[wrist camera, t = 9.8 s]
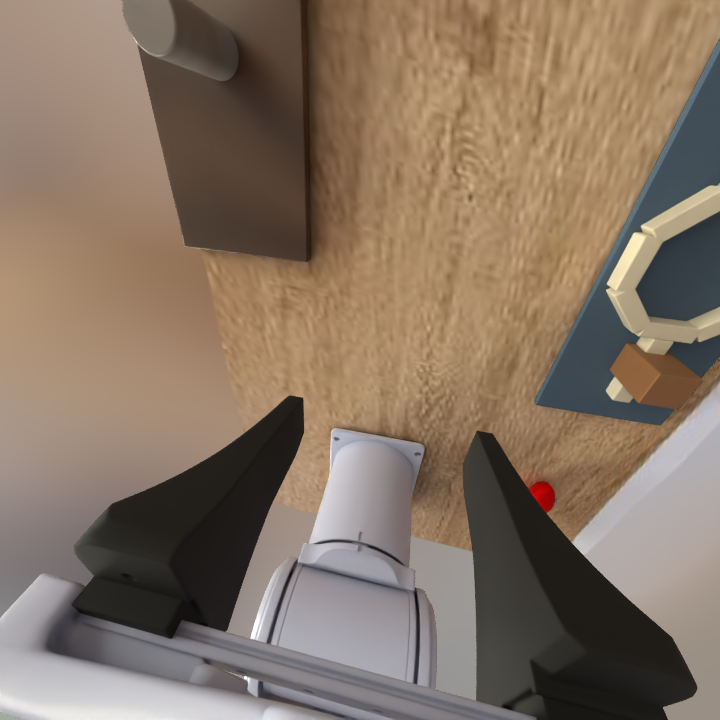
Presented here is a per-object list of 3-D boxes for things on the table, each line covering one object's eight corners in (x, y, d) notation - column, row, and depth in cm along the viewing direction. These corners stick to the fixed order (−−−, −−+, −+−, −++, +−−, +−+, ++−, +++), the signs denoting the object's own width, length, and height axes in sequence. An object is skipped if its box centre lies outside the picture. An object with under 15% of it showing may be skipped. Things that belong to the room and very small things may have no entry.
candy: (542, 500, 27) (549, 521, 26) (518, 495, 27) (523, 516, 26) (555, 479, 26) (564, 499, 24) (530, 474, 26) (536, 495, 24)
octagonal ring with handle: (662, 177, 14) (717, 181, 11) (850, 192, 13) (957, 201, 10) (553, 382, 20) (572, 416, 18) (674, 401, 20) (713, 439, 17)
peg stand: (311, 259, 19) (280, 286, 15) (192, 244, 20) (131, 266, 16) (305, -124, 11) (237, -285, 7) (111, -122, 12) (-48, -264, 8)
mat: (657, 421, 21) (660, 425, 21) (534, 401, 22) (535, 405, 22) (1034, -27, 10) (1055, -34, 10) (755, -33, 11) (765, -39, 10)
